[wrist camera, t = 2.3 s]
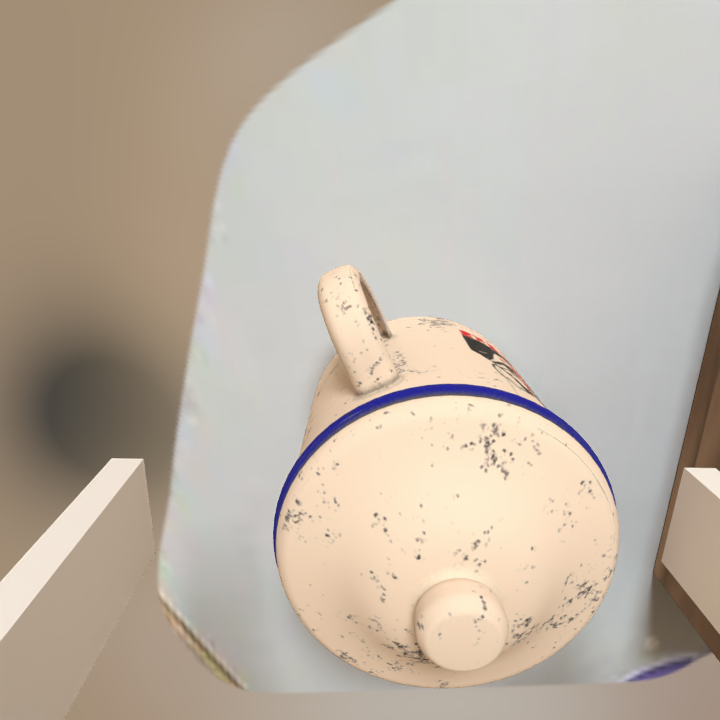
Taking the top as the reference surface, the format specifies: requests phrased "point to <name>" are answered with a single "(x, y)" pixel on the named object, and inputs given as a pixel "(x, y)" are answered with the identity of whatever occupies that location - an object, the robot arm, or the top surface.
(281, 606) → the top surface
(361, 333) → the teacup with lid
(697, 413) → the walnut box
